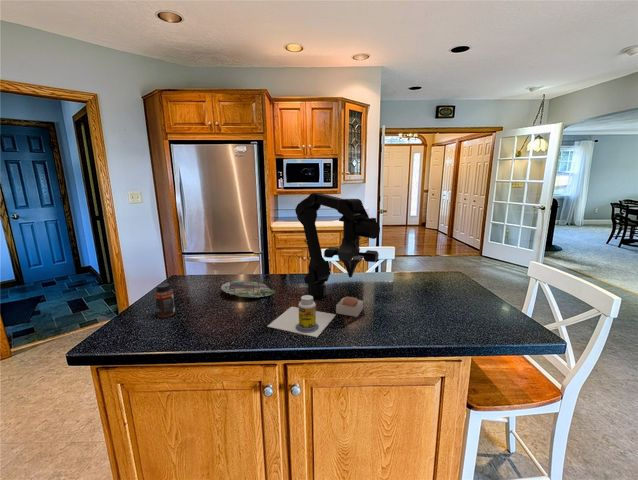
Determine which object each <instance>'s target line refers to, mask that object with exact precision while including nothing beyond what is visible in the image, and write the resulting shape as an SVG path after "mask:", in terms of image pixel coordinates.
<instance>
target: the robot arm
mask: <svg viewBox="0 0 638 480" xmlns="http://www.w3.org/2000/svg"><path fill="white" fill-rule="evenodd" d="M321 206H323V207H326V208H330V209H334V210H336V211H337V212H338V213H339V214H341V215H342V216H341V217H340V218H339V219H338V221H339V222H342V224H343V229H342V231H343V234H342V239H341V244H340V245H339V247H335V246H330V247H328V248H327V247H326V248H325V250H324V251H323V254H322V248H321V244H320V240H319V239H320V238H319V235H318V230H317V225H316V222H317V221H316V220H317V217H318V211H319V210H320V208H321ZM294 209H295V215H296V217H297V220H298V221H299V223H301V225H302V226H303V231H304V235H305V241H306V246H307V249H308V250H307V251H308V254H309V259H310V261H309V264H308V267H307V268H308V273H307V274H306V276H304V279H303V280H304V283H305V284H306V285H307V295H310V296H313V300H320V301H321V300H322V299H324V297H325V296H327V285H326V283H325V282H328V280H329V278H330V275H331V271H332V269H331V267H330V262H329V260H326V259H324V258H329V259H333V257H334V256H337V257H338V259H339V261H340V262H342V263H343V265H344V268H345V269H346V273H347V275H348V277H349V278H353V275H354V274H355V270H356V268H357V266H358V264H359V263H360V262H361V261H363V260H364V261H365V262H367V263H368V262H369V263H376V262H377V261H378V260H379V256H380V255H379V252H378V251H377V250H372V249H371V250H370V249H369V250H368V249H367V250H366V251H365V252H363V251H361V249H360V240H361V238H366V239H373V240H375V239H377V238H378V236H379V234H380V233H381V232H380V231H381V227H380V224H379V223H378V222H377V217H370V216H369V214H368V212H367V211H366V209H365V207H364V204H363V202H362V200H361V199H360V198H341V197H337V196H333V195H329V194H324V193H323V192H312V193H310V194H309V195H308V196H307V197H305V198H304V199H302V200H301V201H300V202H299V203H298V204H297V205H296V206H295V208H294ZM360 251H361V252H360Z"/></svg>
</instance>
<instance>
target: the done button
mask: <svg viewBox="0 0 638 480" xmlns="http://www.w3.org/2000/svg"><path fill="white" fill-rule="evenodd" d="M344 298H345V299H344V300H343V305H347V306H353V307H355V306H356V304H357V300H358V297H352V296H345V297H344Z"/></svg>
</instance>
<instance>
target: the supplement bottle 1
mask: <svg viewBox="0 0 638 480" xmlns="http://www.w3.org/2000/svg"><path fill="white" fill-rule="evenodd" d="M154 302H155V303H154V304H155V310H156V316H157V317H158V318H161V319H163V318H169V317H172V316H173V315H175V314H176V307H175V306H176V305H175V296H174V291H173V289H172V288H170V284H169V283H160V284H157V285H156V291H155V292H154Z"/></svg>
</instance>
